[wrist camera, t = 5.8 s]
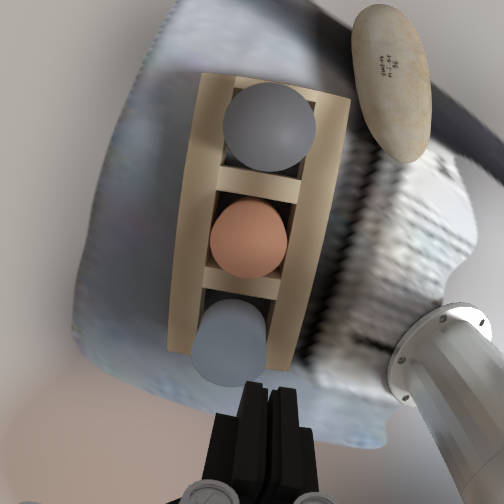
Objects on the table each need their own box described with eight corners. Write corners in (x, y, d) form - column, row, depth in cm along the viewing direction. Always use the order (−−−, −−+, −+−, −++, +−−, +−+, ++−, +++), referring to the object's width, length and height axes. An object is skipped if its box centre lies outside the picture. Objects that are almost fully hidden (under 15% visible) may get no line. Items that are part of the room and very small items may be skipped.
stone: (372, 174, 21) (331, 2, 14) (367, 145, 25) (335, 11, 19) (450, 167, 18) (421, -7, 12) (430, 140, 23) (404, 4, 17)
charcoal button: (311, 104, 19) (322, 92, 15) (298, 175, 20) (306, 179, 16) (237, 91, 19) (231, 76, 15) (224, 162, 20) (215, 163, 16)
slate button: (271, 305, 23) (273, 333, 19) (259, 358, 24) (258, 391, 20) (204, 293, 23) (194, 320, 19) (198, 348, 24) (188, 379, 20)
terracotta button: (288, 202, 23) (293, 211, 20) (276, 264, 25) (278, 284, 21) (223, 191, 23) (216, 198, 19) (214, 253, 25) (205, 271, 21)
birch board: (340, 105, 22) (351, 99, 19) (286, 351, 28) (288, 371, 25) (208, 82, 22) (201, 72, 19) (175, 332, 28) (166, 350, 25)
